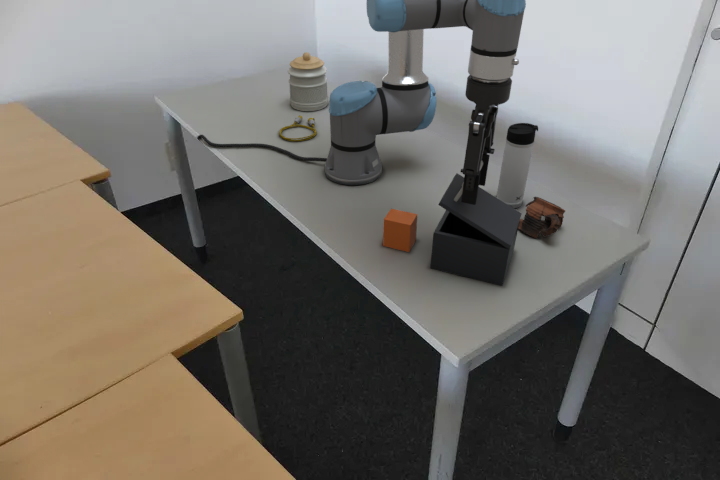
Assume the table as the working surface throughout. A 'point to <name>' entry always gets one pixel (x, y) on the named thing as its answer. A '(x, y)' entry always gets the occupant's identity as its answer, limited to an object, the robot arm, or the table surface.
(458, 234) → the open box
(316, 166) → the table surface
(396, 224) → the orange block
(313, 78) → the jar
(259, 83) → the table surface
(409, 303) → the table surface
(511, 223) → the hinged box lid
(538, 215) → the pottery mug
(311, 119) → the extension cord
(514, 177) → the travel mug
